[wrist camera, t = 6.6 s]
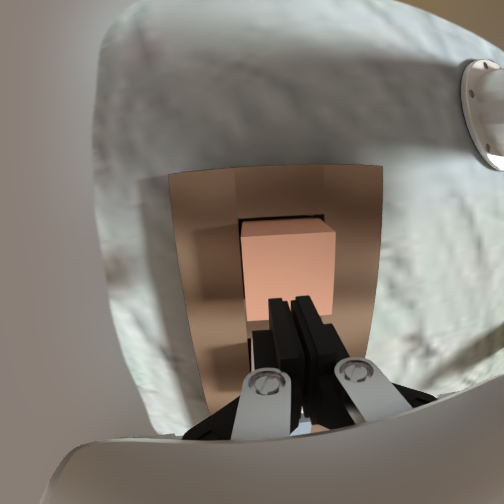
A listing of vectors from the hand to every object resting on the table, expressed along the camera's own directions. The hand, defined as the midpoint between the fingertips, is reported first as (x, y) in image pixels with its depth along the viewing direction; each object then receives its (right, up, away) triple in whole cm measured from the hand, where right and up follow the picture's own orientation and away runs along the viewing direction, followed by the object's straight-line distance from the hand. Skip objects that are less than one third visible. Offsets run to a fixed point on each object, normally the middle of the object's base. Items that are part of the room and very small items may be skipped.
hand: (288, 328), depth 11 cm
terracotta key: (+1, +3, +8) cm, 8 cm away
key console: (+1, -5, +14) cm, 15 cm away
